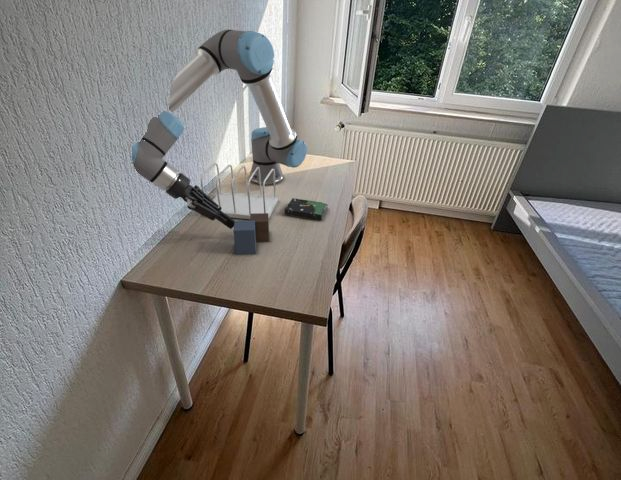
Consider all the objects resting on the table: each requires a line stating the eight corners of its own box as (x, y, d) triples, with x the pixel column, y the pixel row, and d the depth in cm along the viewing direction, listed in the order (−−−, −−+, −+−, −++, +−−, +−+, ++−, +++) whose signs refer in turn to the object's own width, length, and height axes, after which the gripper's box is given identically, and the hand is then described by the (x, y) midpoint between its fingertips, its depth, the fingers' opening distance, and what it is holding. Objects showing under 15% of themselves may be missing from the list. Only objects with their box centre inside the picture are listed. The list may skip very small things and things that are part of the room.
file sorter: (278, 201, 143) (277, 165, 135) (267, 222, 129) (266, 183, 120) (219, 195, 146) (215, 159, 137) (203, 215, 132) (197, 177, 123)
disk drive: (284, 215, 134) (321, 221, 131) (284, 209, 132) (322, 214, 129) (292, 203, 142) (327, 208, 139) (292, 197, 141) (327, 202, 138)
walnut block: (251, 233, 122) (250, 213, 118) (269, 232, 123) (268, 213, 118) (251, 242, 118) (249, 221, 113) (269, 241, 118) (268, 221, 114)
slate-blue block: (237, 243, 116) (234, 220, 112) (256, 243, 117) (254, 220, 112) (235, 254, 112) (233, 230, 107) (255, 253, 112) (254, 230, 107)
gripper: (167, 181, 111) (226, 223, 123) (161, 199, 100) (226, 243, 112) (182, 165, 109) (240, 208, 121) (177, 182, 98) (241, 228, 110)
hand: (233, 225), depth 117 cm, fingers closed
